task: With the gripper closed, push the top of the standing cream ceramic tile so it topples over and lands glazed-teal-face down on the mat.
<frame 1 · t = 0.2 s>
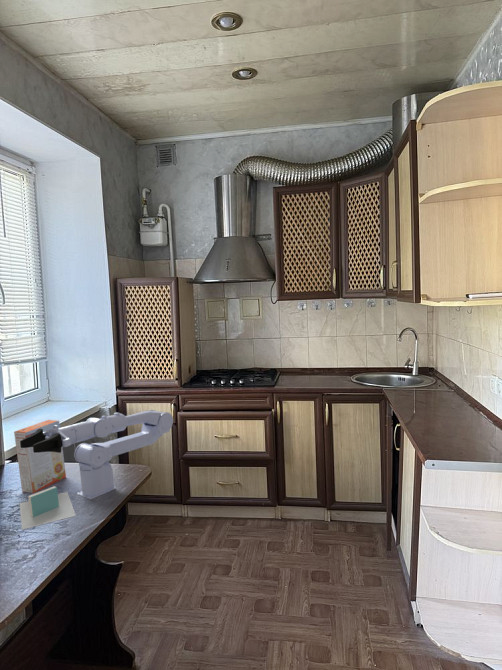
hand: (27, 446, 136), 21 cm above the table, tool horizontal, fingers open, 7 cm apart
tile: (45, 511, 141), resting on mat
cracker box: (44, 485, 163), on the table
mat: (46, 510, 143), on the table
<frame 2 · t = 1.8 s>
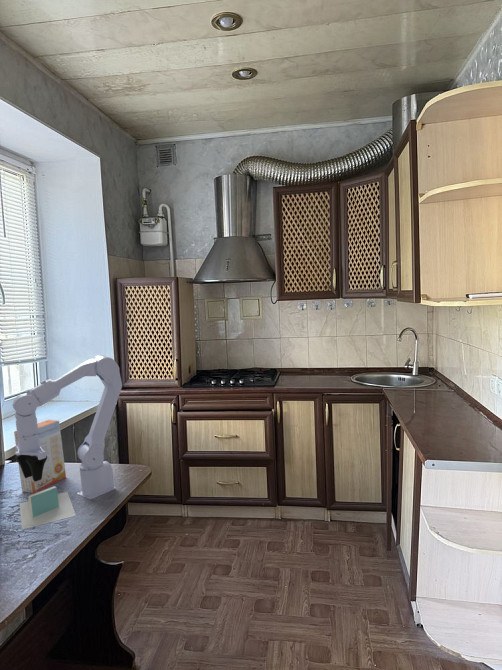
hand: (33, 478, 144), 9 cm above the table, tool pointing down, fingers open, 5 cm apart
nothing on the table moved.
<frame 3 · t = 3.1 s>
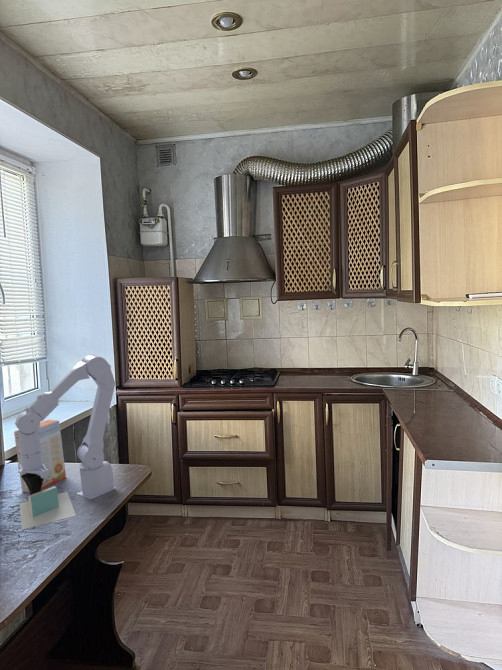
hand: (36, 496, 144), 4 cm above the table, tool pointing down, fingers closed
nothing on the table moved.
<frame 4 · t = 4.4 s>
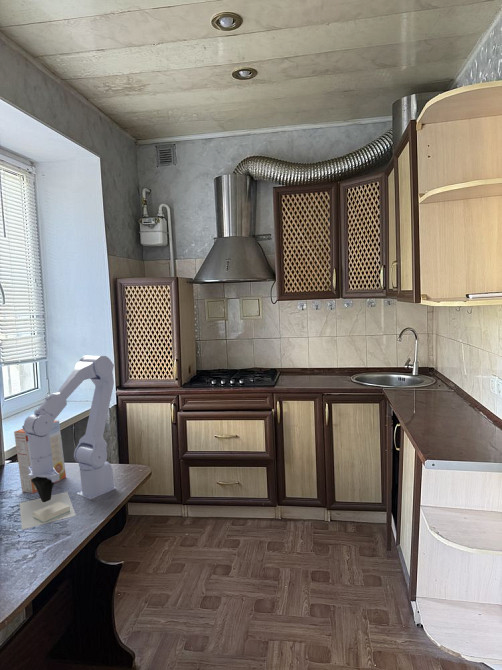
hand: (46, 500, 140), 4 cm above the table, tool pointing down, fingers closed
tile: (46, 509, 141), point 1 cm above the table, tilted 90°, touching mat
everything else where it was.
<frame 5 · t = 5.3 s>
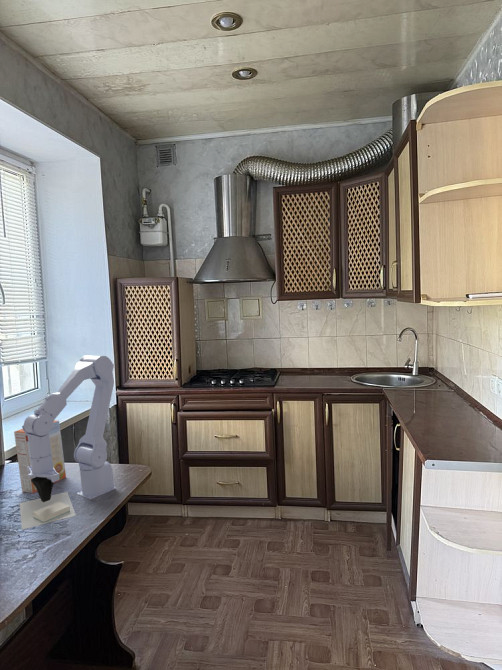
hand: (46, 500, 140), 4 cm above the table, tool pointing down, fingers closed
nothing on the table moved.
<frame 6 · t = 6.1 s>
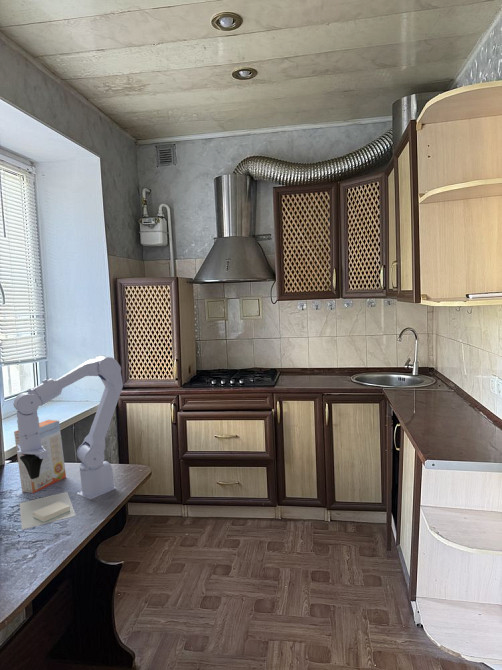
hand: (34, 477, 143), 10 cm above the table, tool pointing down, fingers closed
nothing on the table moved.
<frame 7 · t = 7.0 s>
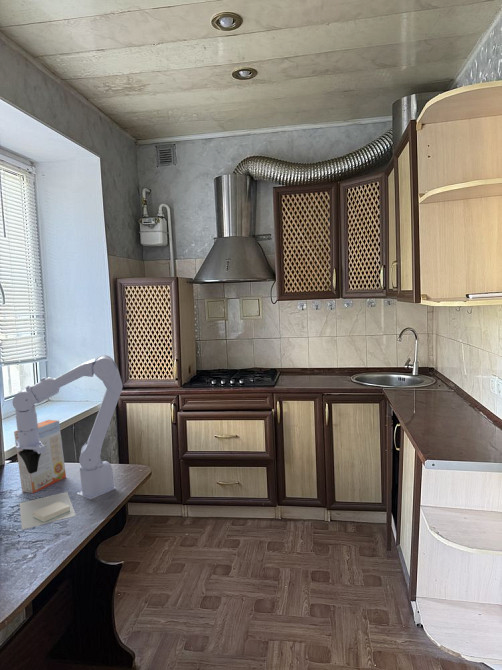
hand: (32, 472, 148), 10 cm above the table, tool pointing down, fingers closed
nothing on the table moved.
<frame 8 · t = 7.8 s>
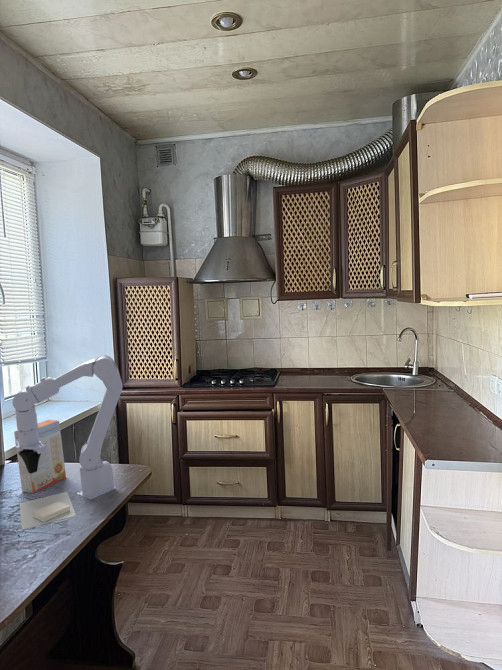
hand: (32, 472, 148), 10 cm above the table, tool pointing down, fingers closed
nothing on the table moved.
at the end: tile tilted 90°; tile 2.1 cm from the mat (horizontally) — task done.
